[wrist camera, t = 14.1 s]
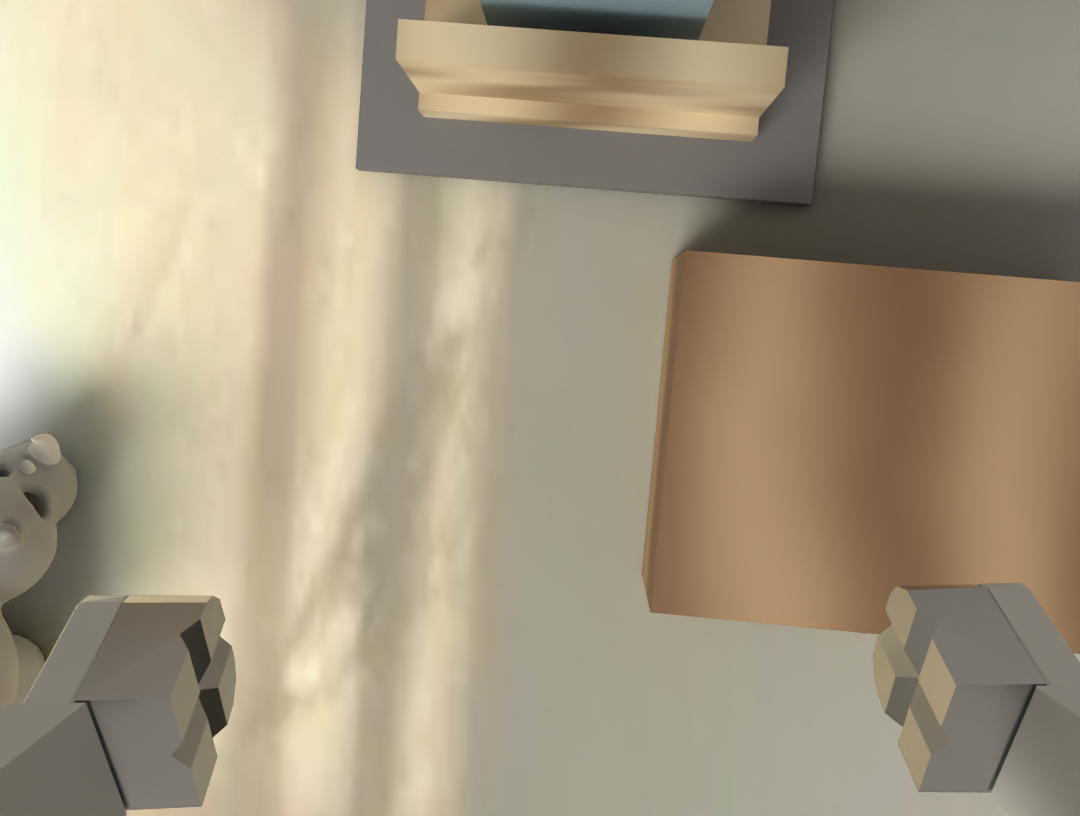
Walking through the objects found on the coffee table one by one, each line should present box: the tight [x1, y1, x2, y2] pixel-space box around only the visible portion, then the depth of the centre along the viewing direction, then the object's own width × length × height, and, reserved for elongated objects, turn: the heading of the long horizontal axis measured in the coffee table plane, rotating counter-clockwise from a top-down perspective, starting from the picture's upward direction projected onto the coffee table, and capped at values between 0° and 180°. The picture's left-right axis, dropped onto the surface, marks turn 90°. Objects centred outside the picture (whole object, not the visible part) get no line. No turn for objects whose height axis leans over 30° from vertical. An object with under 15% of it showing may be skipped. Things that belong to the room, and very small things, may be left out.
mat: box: [356, 0, 834, 206], centre depth 29 cm, size 14×10×1 cm
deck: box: [642, 250, 1080, 654], centre depth 27 cm, size 12×10×4 cm
